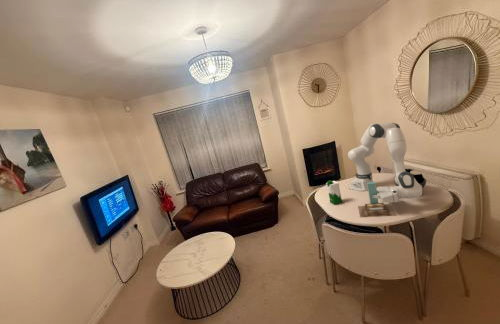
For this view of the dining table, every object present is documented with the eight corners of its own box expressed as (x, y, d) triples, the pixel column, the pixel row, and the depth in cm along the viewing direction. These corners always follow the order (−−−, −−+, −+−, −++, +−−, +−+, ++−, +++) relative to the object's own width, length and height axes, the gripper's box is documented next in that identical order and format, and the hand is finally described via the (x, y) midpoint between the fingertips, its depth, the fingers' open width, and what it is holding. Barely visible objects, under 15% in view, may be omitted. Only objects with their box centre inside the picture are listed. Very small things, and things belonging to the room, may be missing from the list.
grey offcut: (383, 212, 152) (382, 207, 152) (383, 214, 150) (383, 208, 150) (370, 213, 155) (369, 208, 155) (370, 214, 154) (369, 209, 153)
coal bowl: (407, 185, 185) (404, 164, 182) (433, 190, 166) (431, 167, 163) (390, 193, 179) (387, 171, 176) (415, 199, 160) (413, 175, 157)
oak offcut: (383, 210, 155) (382, 203, 154) (384, 211, 153) (383, 204, 153) (368, 211, 159) (367, 204, 158) (368, 212, 157) (367, 205, 157)
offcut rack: (391, 205, 161) (390, 200, 160) (397, 217, 145) (396, 211, 144) (358, 207, 170) (357, 202, 169) (360, 219, 154) (359, 213, 153)
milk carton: (328, 202, 191) (324, 180, 188) (338, 199, 192) (334, 177, 189) (334, 205, 183) (329, 183, 179) (343, 202, 184) (339, 180, 180)
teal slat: (378, 207, 160) (374, 181, 157) (379, 209, 158) (375, 183, 154) (371, 208, 162) (367, 182, 159) (371, 209, 160) (367, 183, 156)
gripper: (390, 183, 162) (369, 185, 167) (397, 194, 143) (373, 196, 149) (391, 191, 163) (370, 193, 168) (398, 203, 144) (374, 204, 150)
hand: (371, 194), depth 158 cm, fingers open, 5 cm apart
